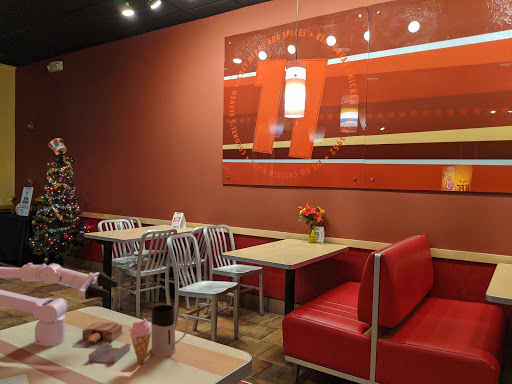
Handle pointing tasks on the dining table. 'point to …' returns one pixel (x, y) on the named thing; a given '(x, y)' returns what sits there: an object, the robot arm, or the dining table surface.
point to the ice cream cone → (140, 339)
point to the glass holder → (164, 330)
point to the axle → (96, 337)
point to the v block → (108, 353)
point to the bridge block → (109, 334)
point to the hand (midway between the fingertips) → (112, 289)
